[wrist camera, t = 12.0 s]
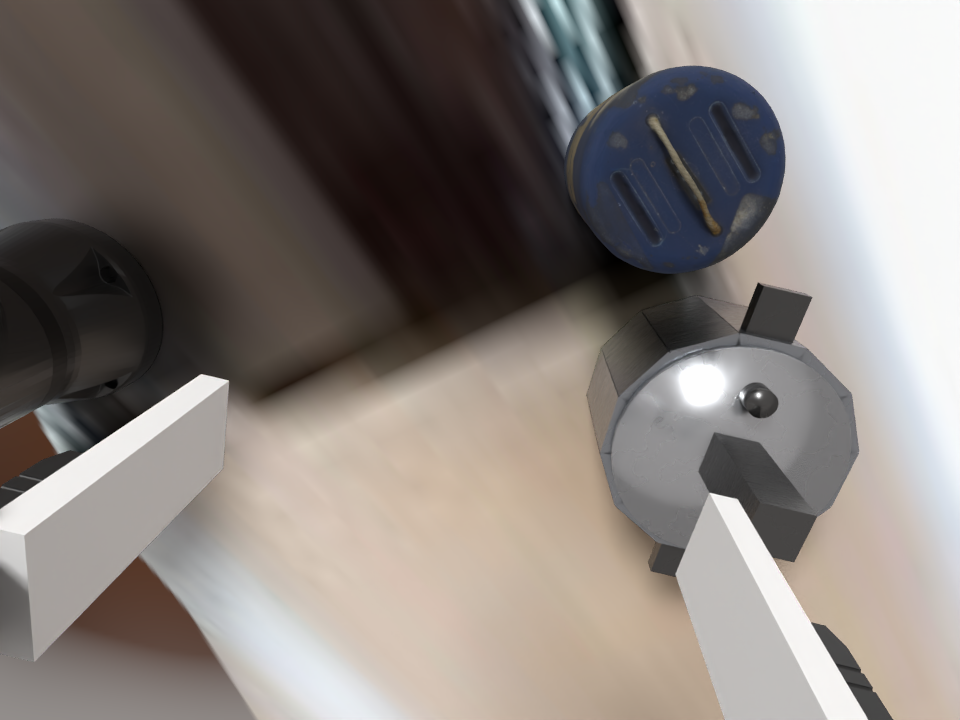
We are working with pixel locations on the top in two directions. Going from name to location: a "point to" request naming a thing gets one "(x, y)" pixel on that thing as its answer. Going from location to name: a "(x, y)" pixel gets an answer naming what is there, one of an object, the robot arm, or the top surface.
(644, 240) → the canister
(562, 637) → the top surface
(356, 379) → the top surface
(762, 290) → the cooker pot
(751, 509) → the lid
